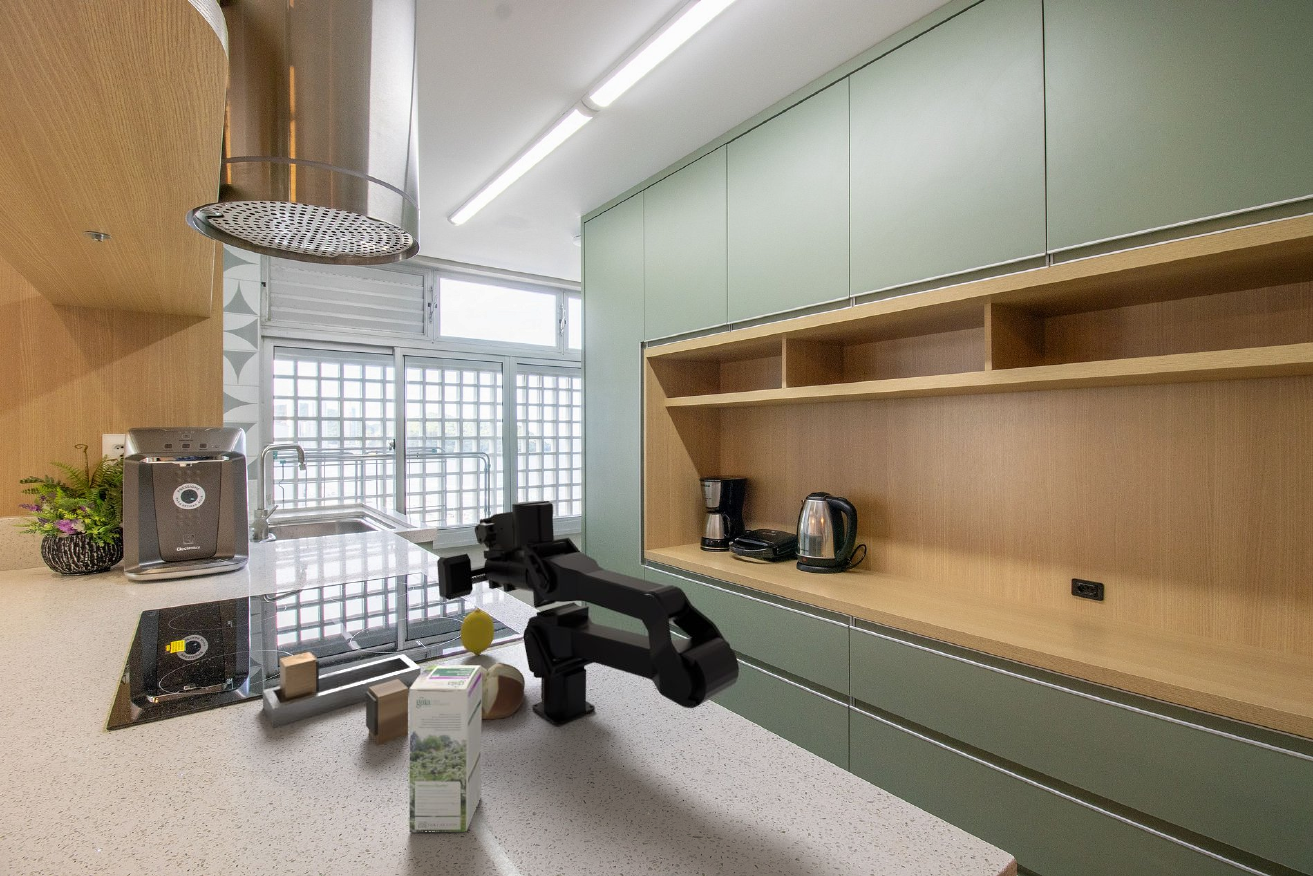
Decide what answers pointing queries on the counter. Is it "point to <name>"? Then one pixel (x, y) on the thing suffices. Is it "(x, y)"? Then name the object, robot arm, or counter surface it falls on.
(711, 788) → the counter surface
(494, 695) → the bread
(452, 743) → the syrup box
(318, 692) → the rail
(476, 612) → the lemon
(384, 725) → the upright wooden block
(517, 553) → the robot arm
